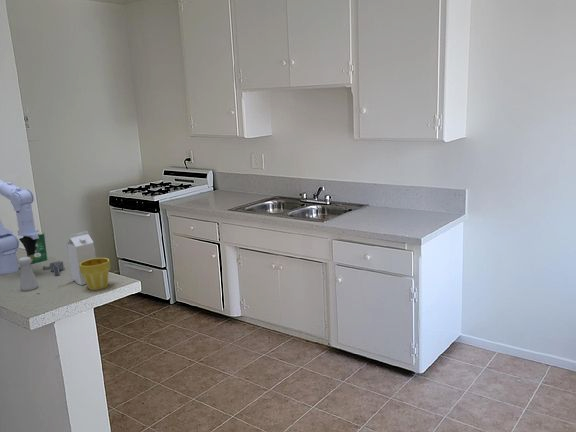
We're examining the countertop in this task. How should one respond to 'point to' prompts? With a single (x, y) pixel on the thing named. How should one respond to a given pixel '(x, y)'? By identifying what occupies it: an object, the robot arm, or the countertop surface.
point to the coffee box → (39, 250)
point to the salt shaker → (27, 275)
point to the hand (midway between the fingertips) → (31, 254)
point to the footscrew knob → (56, 267)
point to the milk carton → (79, 254)
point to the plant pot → (95, 272)
